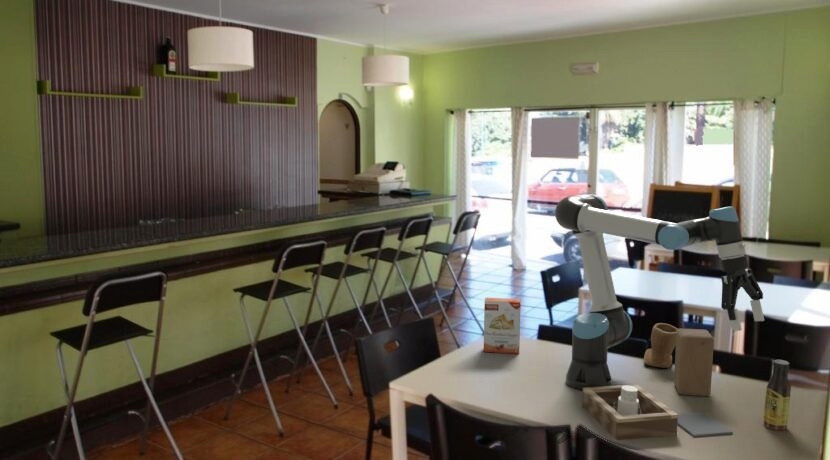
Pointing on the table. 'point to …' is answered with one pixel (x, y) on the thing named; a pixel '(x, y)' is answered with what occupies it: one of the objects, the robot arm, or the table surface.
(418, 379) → the table surface
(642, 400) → the open wooden box
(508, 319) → the cracker box
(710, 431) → the rubber mat
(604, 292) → the robot arm
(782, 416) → the sauce bottle
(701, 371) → the wooden block
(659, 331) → the tan boot
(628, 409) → the downlight
